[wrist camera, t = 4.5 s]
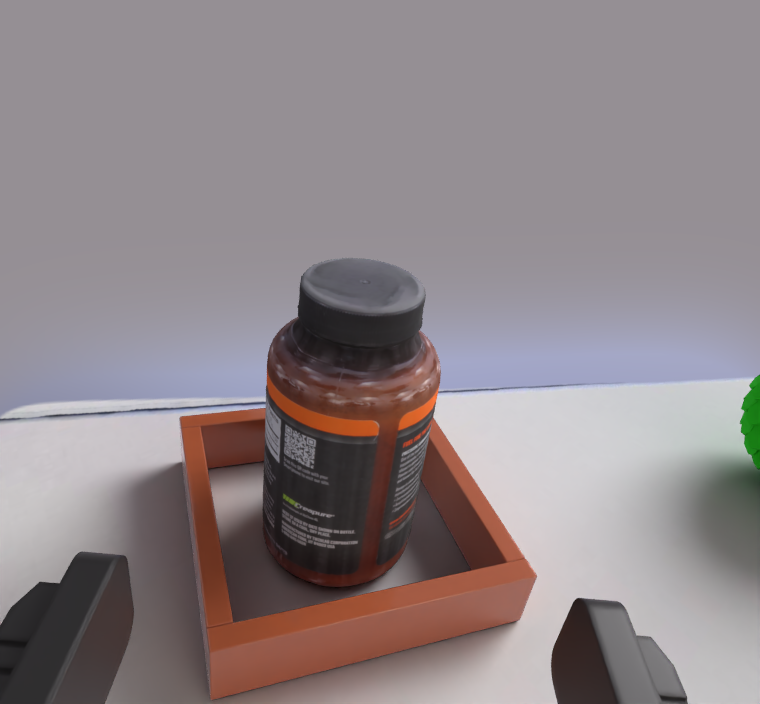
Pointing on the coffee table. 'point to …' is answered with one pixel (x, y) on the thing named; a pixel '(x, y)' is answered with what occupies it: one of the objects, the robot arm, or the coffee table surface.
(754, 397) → the ornament
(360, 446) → the supplement bottle
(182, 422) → the reddish-brown square frame
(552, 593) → the coffee table surface
